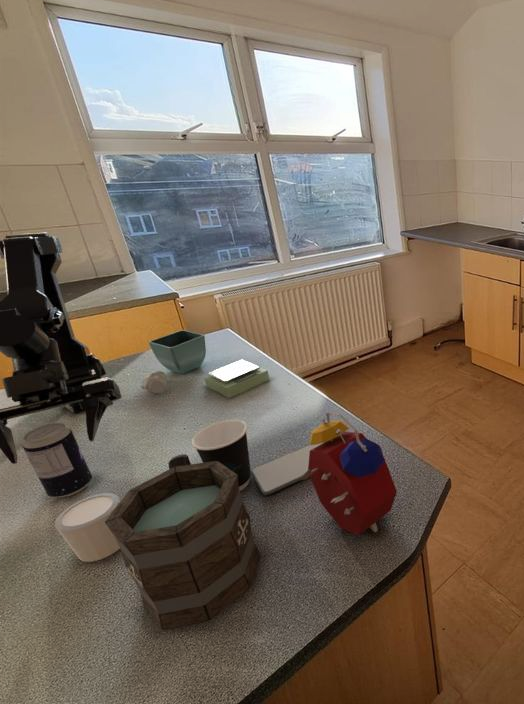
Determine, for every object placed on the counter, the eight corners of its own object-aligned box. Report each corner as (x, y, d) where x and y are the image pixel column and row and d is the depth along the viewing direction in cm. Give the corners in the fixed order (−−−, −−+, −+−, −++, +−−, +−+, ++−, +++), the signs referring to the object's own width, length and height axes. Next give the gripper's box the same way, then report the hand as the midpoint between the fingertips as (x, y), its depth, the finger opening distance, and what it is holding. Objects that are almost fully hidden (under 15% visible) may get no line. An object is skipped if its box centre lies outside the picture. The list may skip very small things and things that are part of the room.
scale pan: (208, 375, 105) (207, 373, 105) (242, 361, 112) (242, 359, 112) (225, 383, 102) (225, 381, 102) (260, 368, 109) (259, 366, 108)
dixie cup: (228, 507, 72) (212, 454, 67) (197, 492, 74) (180, 440, 70) (270, 476, 78) (257, 426, 74) (240, 463, 81) (226, 415, 77)
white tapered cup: (98, 570, 61) (80, 534, 58) (60, 560, 62) (40, 525, 59) (145, 530, 67) (131, 496, 64) (109, 523, 68) (94, 489, 66)
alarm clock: (401, 526, 69) (390, 422, 61) (354, 565, 62) (335, 454, 55) (347, 484, 77) (331, 388, 69) (300, 515, 70) (277, 412, 63)
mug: (268, 590, 58) (244, 506, 53) (141, 654, 51) (97, 564, 45) (248, 500, 73) (228, 427, 67) (147, 539, 66) (114, 461, 60)
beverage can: (101, 481, 76) (76, 425, 72) (61, 504, 71) (32, 446, 67) (81, 473, 78) (55, 418, 74) (40, 495, 73) (10, 438, 69)
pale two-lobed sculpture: (148, 388, 107) (170, 377, 109) (148, 402, 101) (171, 390, 103) (136, 375, 105) (159, 364, 107) (135, 389, 99) (159, 376, 101)
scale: (206, 386, 106) (203, 375, 105) (246, 369, 114) (244, 359, 113) (229, 398, 102) (226, 387, 100) (269, 379, 110) (267, 369, 109)
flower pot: (213, 364, 117) (205, 334, 113) (180, 379, 109) (170, 347, 106) (191, 358, 119) (182, 329, 116) (157, 373, 112) (147, 342, 108)
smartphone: (349, 454, 83) (263, 494, 73) (349, 459, 83) (264, 498, 73) (330, 435, 88) (249, 469, 78) (331, 439, 88) (250, 473, 79)
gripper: (-73, 367, 64) (-61, 466, 60) (96, 336, 75) (115, 418, 71) (-33, 391, 72) (-21, 479, 69) (113, 359, 83) (130, 434, 80)
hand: (54, 451), depth 72 cm, fingers open, 9 cm apart
